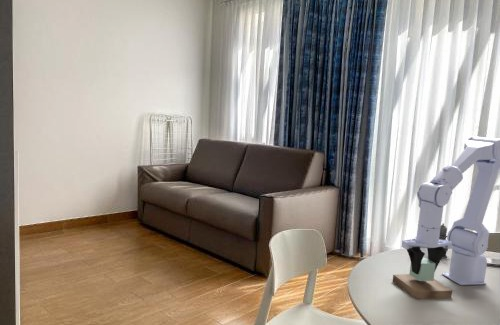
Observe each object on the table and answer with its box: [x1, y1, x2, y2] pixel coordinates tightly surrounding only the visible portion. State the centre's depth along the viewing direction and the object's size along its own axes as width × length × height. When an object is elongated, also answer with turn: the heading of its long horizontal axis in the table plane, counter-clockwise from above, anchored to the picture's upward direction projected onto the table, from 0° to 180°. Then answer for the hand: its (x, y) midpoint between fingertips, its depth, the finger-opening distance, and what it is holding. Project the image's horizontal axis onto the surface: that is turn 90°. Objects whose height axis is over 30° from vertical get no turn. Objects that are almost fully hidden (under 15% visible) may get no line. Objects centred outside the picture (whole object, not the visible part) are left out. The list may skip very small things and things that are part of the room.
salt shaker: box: [439, 223, 449, 259], centre depth 139 cm, size 6×6×12 cm
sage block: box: [408, 258, 436, 281], centre depth 110 cm, size 4×4×5 cm
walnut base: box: [392, 273, 453, 300], centre depth 110 cm, size 11×11×2 cm
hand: (423, 272), depth 109 cm, fingers closed on sage block, 4 cm apart
